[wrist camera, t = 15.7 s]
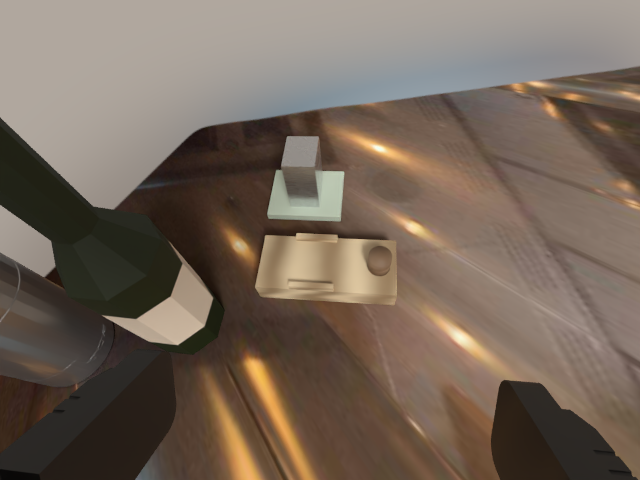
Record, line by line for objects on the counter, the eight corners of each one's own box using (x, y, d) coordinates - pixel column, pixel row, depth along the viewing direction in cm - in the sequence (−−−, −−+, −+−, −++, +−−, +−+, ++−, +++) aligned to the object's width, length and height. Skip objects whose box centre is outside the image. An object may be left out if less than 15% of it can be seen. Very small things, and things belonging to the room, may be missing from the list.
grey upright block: (290, 206, 49) (281, 166, 42) (296, 175, 52) (287, 132, 45) (319, 207, 48) (314, 166, 41) (323, 175, 51) (319, 133, 44)
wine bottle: (220, 280, 45) (47, 50, 19) (228, 344, 41) (20, 158, 15) (154, 298, 44) (-116, 84, 19) (156, 365, 40) (-192, 207, 14)
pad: (268, 218, 49) (267, 214, 48) (277, 174, 53) (276, 170, 52) (340, 221, 48) (340, 217, 47) (344, 176, 52) (343, 171, 51)
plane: (260, 296, 43) (250, 278, 39) (270, 247, 47) (261, 224, 42) (394, 305, 41) (399, 286, 37) (393, 252, 45) (398, 229, 40)
